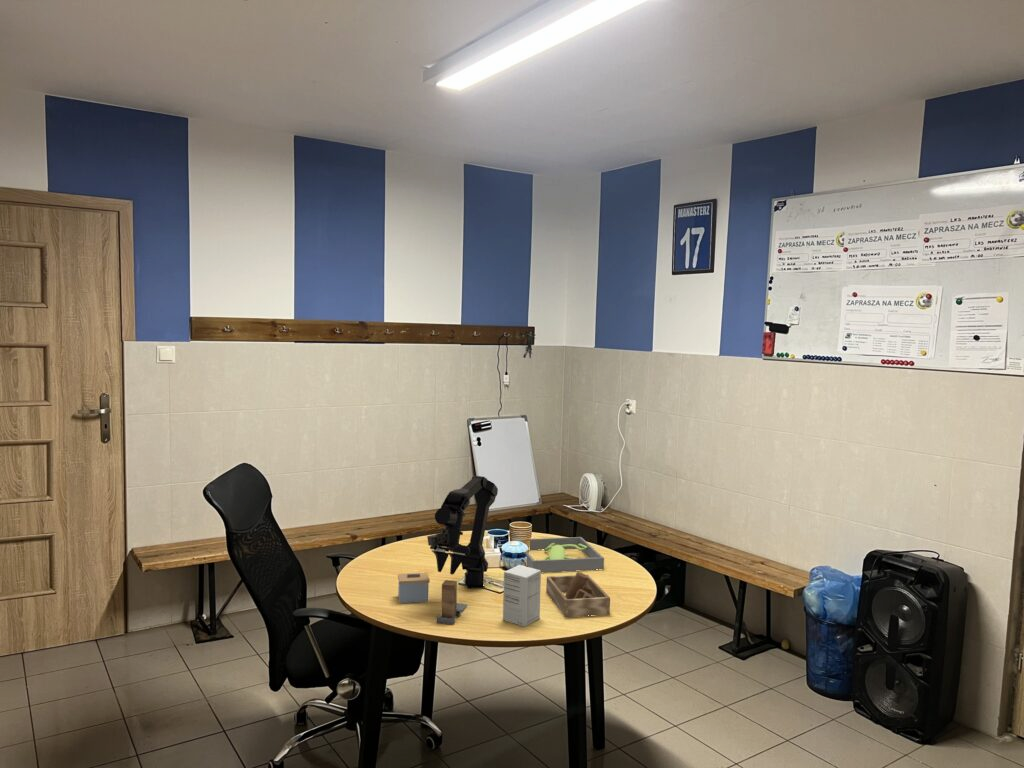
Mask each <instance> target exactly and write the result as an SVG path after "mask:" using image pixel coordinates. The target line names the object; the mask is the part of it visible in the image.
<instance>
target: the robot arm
mask: <svg viewBox="0 0 1024 768" xmlns="http://www.w3.org/2000/svg"><path fill="white" fill-rule="evenodd" d="M498 489H499V488H498V487H497V485H496V484H495V483H494V482H493V481H490V480H489V479H488V478H487V477H485V476H481V475H474V476H472V477H471V479H470V480H469V481H468V482H467V483H466V484H464V485H463V486H462V487H461V488H459V489H457V488H456V489H453V490H451V491H450V492H448V494H447V495H446V497H445V499H444V500H443V502H442V504H441V506H440V508H438V509H437V511H436V512H435V513H434V520H435V521H436V523H437V524H439V525H442V526H444V528H442V529H441V530H440V533H438V532H436V534H431V535H427V545H428V546H430V547H429V549H430V550H431V552H432V554H434V556H435V560H436V566H437V567H436V568H437V573H441V572H442V571H443V569H444V567H445V564H446V561H448V557H450V570H449V571H450V572H449V573H450V575H455V573H456V571H457V570H458V568H459V567H460V565H461V568H462V570H464V571H465V572H464V580H463V581H464V585H465V586H466V588H467V589H482V588H483V587H484V588H485V583H484V581H485V580H484V579H485V578H484V576H485V575H484V574H485V573H486V572H488V568H489V563H488V561H487V559H486V557H485V556H486V552H485V549H484V546H483V544H484V538H485V531H486V526H487V521H488V516H489V512H490V511H489V510H490V507H491V506H492V505H493V504H494V503H495V501H496V498H497V496H498V491H499V490H498ZM472 497H473V498H474V500H475V502H476V508H475V515H474V519H473V524H472V528H471V529H472V530H471V534H470V539H469V543H468V544H467V545H464V544H461V543H460V539H461V536H463V535H464V532H463V531H462V526H463V520H464V517H465V516H466V513H465V512H464V511H465V510H466V509H467V508H468V506H469V505H470V502H471V501H470V500H471V498H472ZM483 584H484V586H483Z"/></svg>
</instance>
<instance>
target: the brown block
mask: <svg viewBox="0 0 1024 768" xmlns="http://www.w3.org/2000/svg"><path fill="white" fill-rule="evenodd" d="M457 590H458V581H457V580H447V579H446V580H444V581H443V582H442V584H441V607H440V608H441V610H440V611H441V614H440V616H449V617H455V619H456V618H457V617H456V603H458V601H457V597H458V594H457V593H458V591H457Z"/></svg>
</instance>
